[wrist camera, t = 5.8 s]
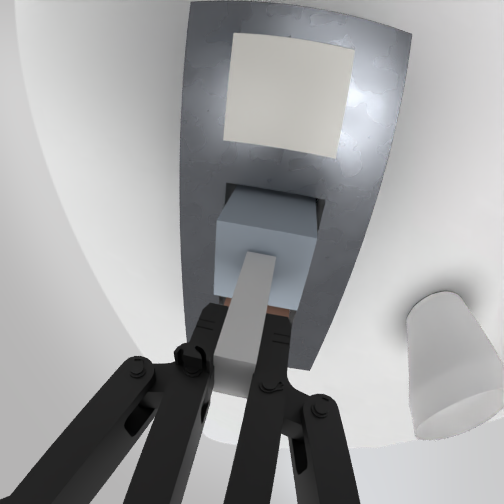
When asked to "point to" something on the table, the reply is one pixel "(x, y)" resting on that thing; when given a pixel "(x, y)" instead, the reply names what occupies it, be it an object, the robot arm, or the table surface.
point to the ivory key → (287, 93)
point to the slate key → (266, 240)
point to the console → (285, 153)
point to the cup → (450, 369)
